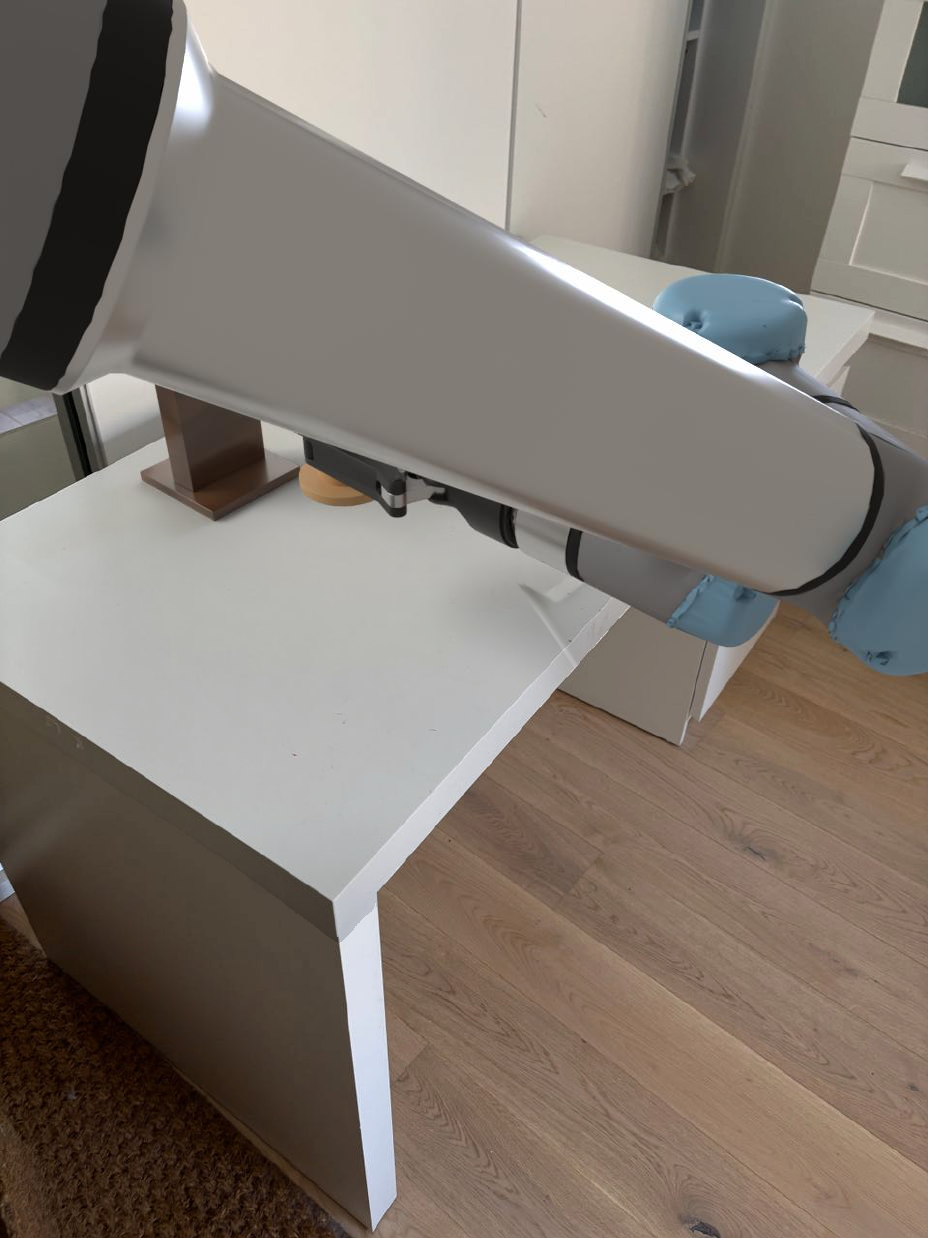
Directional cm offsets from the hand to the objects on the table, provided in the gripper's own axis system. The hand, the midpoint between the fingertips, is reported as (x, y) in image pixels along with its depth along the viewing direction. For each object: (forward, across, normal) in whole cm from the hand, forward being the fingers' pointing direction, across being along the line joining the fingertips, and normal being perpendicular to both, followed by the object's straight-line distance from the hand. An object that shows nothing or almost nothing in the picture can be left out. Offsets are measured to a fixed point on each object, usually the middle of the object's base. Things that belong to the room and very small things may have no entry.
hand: (289, 384), depth 72 cm
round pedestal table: (-5, 0, -6) cm, 8 cm away
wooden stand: (+15, +6, -18) cm, 24 cm away
